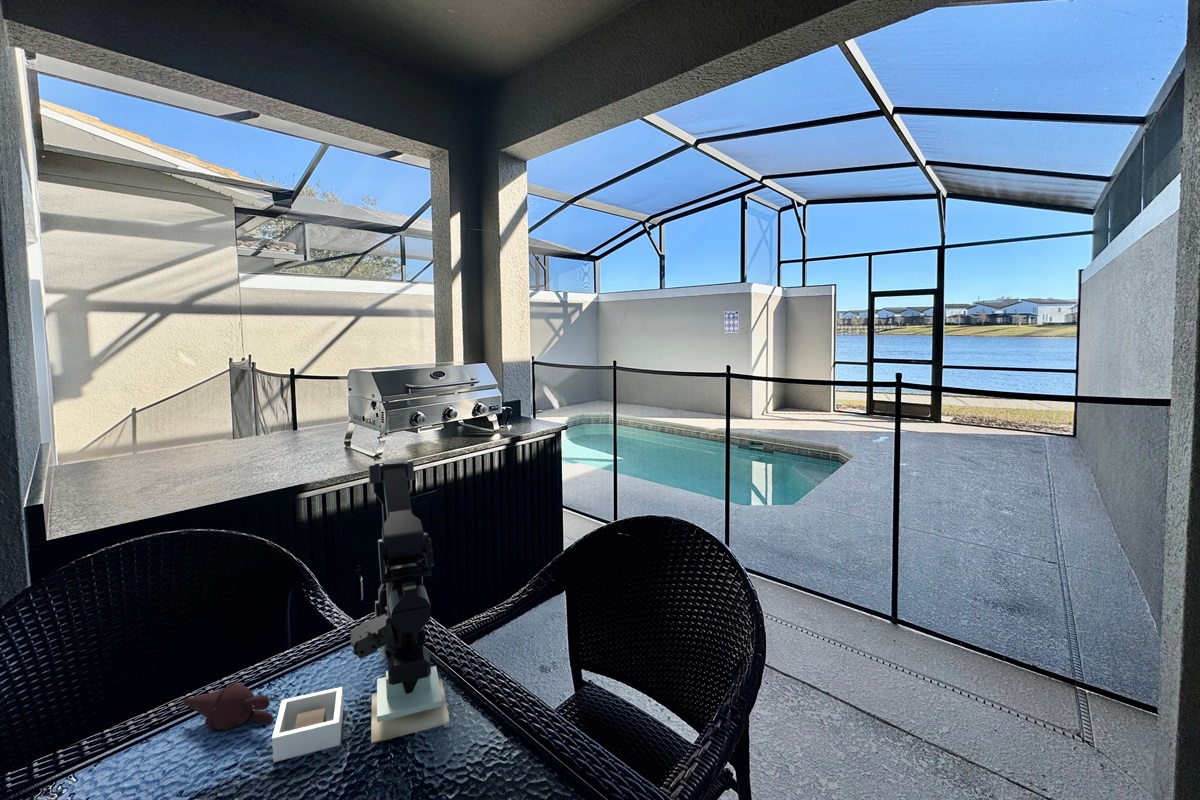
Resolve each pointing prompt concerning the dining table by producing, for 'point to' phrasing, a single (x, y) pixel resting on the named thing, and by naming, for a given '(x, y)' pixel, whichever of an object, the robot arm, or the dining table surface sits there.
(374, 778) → the dining table surface
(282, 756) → the box
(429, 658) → the robot arm
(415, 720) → the board
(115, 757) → the dining table surface
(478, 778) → the dining table surface
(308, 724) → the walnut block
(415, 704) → the lid
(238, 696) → the brown gnome figurine
